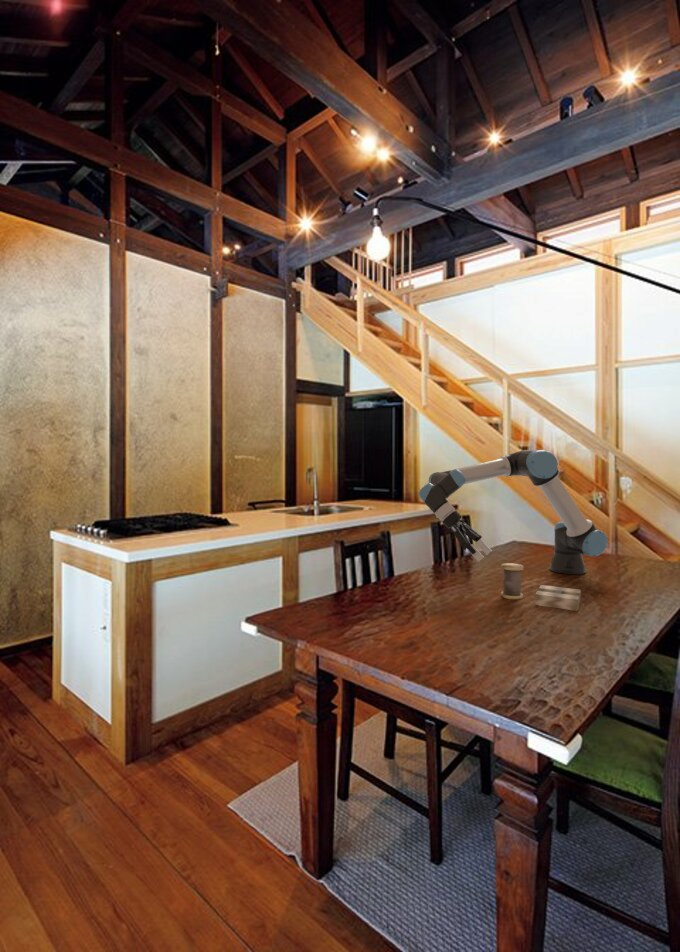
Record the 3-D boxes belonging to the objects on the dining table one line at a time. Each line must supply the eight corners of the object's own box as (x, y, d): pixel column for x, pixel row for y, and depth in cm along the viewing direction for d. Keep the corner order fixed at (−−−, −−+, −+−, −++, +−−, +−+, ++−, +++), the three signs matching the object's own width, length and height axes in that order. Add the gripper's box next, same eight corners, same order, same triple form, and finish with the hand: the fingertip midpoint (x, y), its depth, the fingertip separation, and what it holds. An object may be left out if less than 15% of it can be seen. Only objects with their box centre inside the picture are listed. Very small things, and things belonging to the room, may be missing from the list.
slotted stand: (535, 604, 182) (535, 594, 182) (540, 595, 194) (540, 584, 194) (577, 610, 175) (577, 599, 175) (580, 600, 187) (580, 589, 187)
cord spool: (496, 594, 194) (496, 564, 194) (511, 592, 198) (512, 562, 197) (512, 600, 187) (512, 568, 187) (527, 597, 191) (528, 566, 190)
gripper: (451, 518, 215) (485, 556, 209) (432, 525, 194) (470, 568, 187) (463, 506, 213) (499, 544, 206) (445, 513, 191) (484, 556, 184)
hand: (485, 556), depth 197 cm, fingers open, 13 cm apart
